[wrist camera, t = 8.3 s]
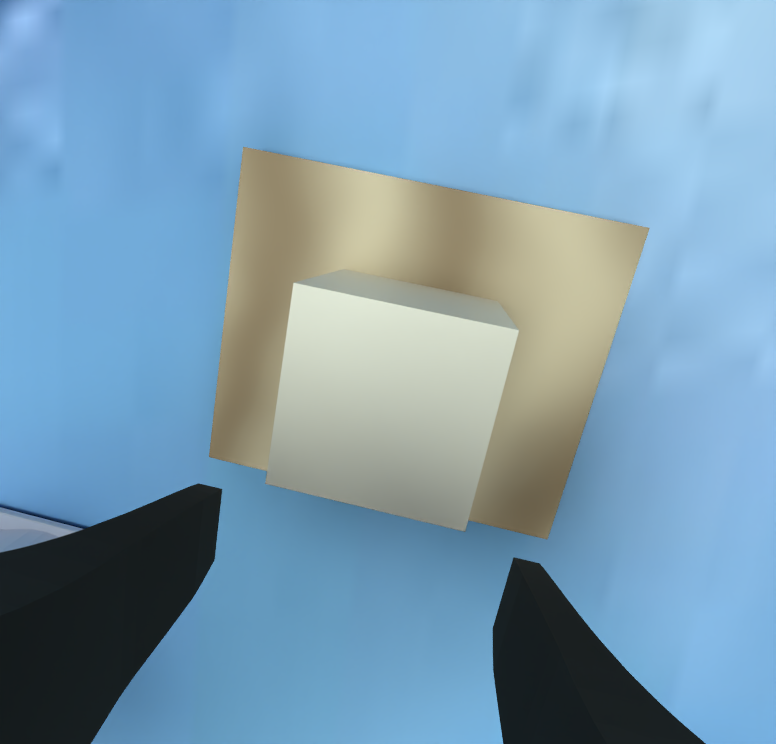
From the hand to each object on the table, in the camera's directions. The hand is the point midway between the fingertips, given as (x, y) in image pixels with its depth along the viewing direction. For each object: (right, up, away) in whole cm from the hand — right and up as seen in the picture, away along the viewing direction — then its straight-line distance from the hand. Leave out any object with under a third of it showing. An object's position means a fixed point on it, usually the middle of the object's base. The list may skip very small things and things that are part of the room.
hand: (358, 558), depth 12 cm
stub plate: (+2, +6, +8) cm, 10 cm away
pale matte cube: (+1, +5, +7) cm, 8 cm away
